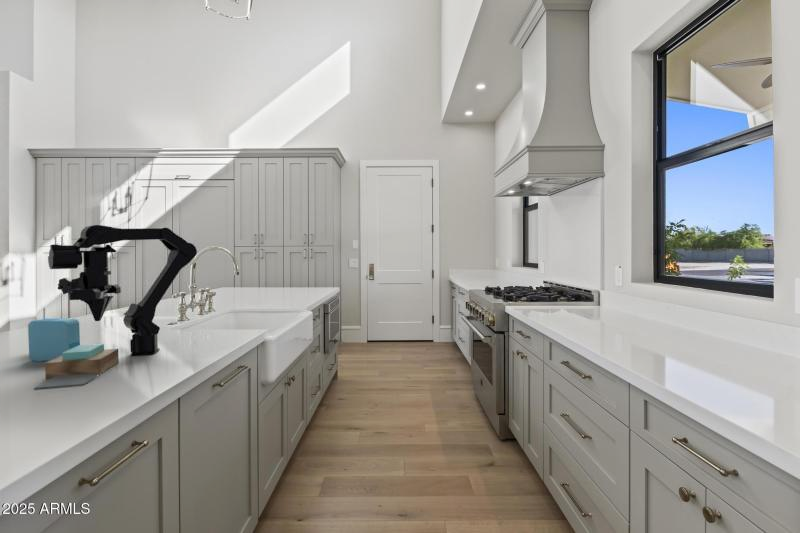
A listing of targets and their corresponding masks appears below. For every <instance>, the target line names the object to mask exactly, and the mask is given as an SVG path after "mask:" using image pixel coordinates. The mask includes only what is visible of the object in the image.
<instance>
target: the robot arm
mask: <svg viewBox="0 0 800 533" xmlns="http://www.w3.org/2000/svg"><path fill="white" fill-rule="evenodd" d="M145 240H146V241H151V240H153V241H154V240H159V241H160V242H161V243H162V244H163V246H165V247H166V249H167V250H169V254H168V257H167V262H166V264H165V266H164V268H163V269H162V270H161V272H160V273H159V274H158V276H157V277H156V279H155V281H154V282H153V284H152V285H151V287H150V288H149V290H148V291H147V292H146V294H145V296H144V297H143V298H142V300H141V301H139V302H138V303H133V302H132V303H131V304H130V305H129V307H128V309H127V310H126V311H125V312H123V315H124V317H123V325H124V326H125V327H126V328H128V329H129V330H130V332H131V333H132V335H131V339H130V344H129V345H130V356H145V355H155V354H156V353H157V352H158V351H160V347H159V345H158V343H159V342H158V335H159V332H160V329H161V328H160V326H159V325H157V324H156V323H155V322H153V320H154V318H155V314H156V310H157V306H158V305H159V303H160V301H161V300H162V299H163V297H164V295H165V294H166V292H167V291H168V289H169V288H170V286H171V285H172V283H173V282H174V280H176V277H177V275H179V273H180V271H181V270H182V269H183V268H185V267H186V266H187V265H188V264H190V262H191V261H193V259H194V258H196V256H197V254H198V253H197V252H198V250H197V247H196V246H195V245H194V243H191V242H188V241H187V240H185V239H184V238H182V237H181V236H180V235H178V234H177V233H175V232H174V231H173V230H172V229H170V228H169V227H158V228H153V227H152V228H150V227H149V228H120V227H115V226H109V225H101V224H94V225H88V226H85V227H83V229H81V231H80V237H79V238H78V239H77V240H76V241H75V242H74V243H73V244H72V245H69V244H68V245H67V244H66V245H63V244H50V245H49V247H50V249H49V253H48V256H47V261H48V262H47V263H48V267H49V269H50V270H71V269H75V270H76V269H78V267H79V266H82V265H83V271H80V272H79V277H77V278H73V279H72V278H69V277H63V278H61V279H59V280H58V283H57V290H60V291H61V292H62V293H63V295H66V294H68V300H69V301H80V302H83V303H86V305H88V308H89V309H90V312H91V315H92V318H93V319H94V321H95V322H100V321H101V320H102V318H103V316H104V314H105V312H106V310H107V308H108V306H109V305H110V302H111V301H112V299H113V298H114V295H108V294H116V295H117V294H121V292H122V291H121V290H122V288H121V286H120V285H119V284H118V283H117V284H116V283H115V284H110V283H109V282H110V281H109V276H110V275H112V271H111V270H109V257H108V256H109V255H108V254H109V253H117V250H116V249H115V248H113V247H112V246H111V245H110V244H112V243H117V242H121V241H145ZM100 245H104V246H100ZM89 248H91V249H90V250H81V249H89Z"/></svg>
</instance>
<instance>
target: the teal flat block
mask: <svg viewBox="0 0 800 533" xmlns="http://www.w3.org/2000/svg"><path fill="white" fill-rule="evenodd" d="M104 350H105V343H97V344H95V343H94V344H80V345H78V346H76V347H74V348H72V349H70V350H67V351H65V352H63V353H62V361H63V360H78V359H90V358H92V357H93V356H95V355H97V354H99V353H101V352H103V351H104Z"/></svg>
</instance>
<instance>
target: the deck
mask: <svg viewBox="0 0 800 533" xmlns="http://www.w3.org/2000/svg"><path fill="white" fill-rule="evenodd" d="M119 360H120V359H119V348H107V349H105V348H104V351H103V352H101V353H99V354H97V355H95V356H93V357H92V358H90V359H78V360H63V361H62V355H61V356H59V357H57V358H55V359H53V360H51V361H45V363H44V366H45V368H44V369H45V379H51V378H53V377H55V376H65V375H78V374H91V373H102V372H103V371H105V370H106V369H108V368H109V367H111V366H112V367H114V366H115V365H116V363H117V364H119V362H120V361H119ZM114 364H115V365H114ZM113 365H114V366H113ZM112 367H111V368H112ZM109 369H110V368H109ZM109 369H108V370H109ZM106 371H107V370H106ZM106 371H105V372H106ZM103 373H104V372H103ZM103 373H102V374H103Z"/></svg>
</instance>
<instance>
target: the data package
mask: <svg viewBox="0 0 800 533" xmlns="http://www.w3.org/2000/svg"><path fill="white" fill-rule="evenodd" d="M27 329H28V330H27V332H28V335H27V336H28V338H27V339H28V356H29V359H30V360H31V361H33V362H48V361H51V360H53V359H55V358H57V357H59V356H61V355H62V353H63V352H65V351H67V350H70V349H72V348H74V347H76V346H78V345H81V340H80V339H81V336H80V332H81V331H80V321H79V320H78V319H76V318H42V319H37V320H31V321H30V322H29V323H28V326H27Z"/></svg>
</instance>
